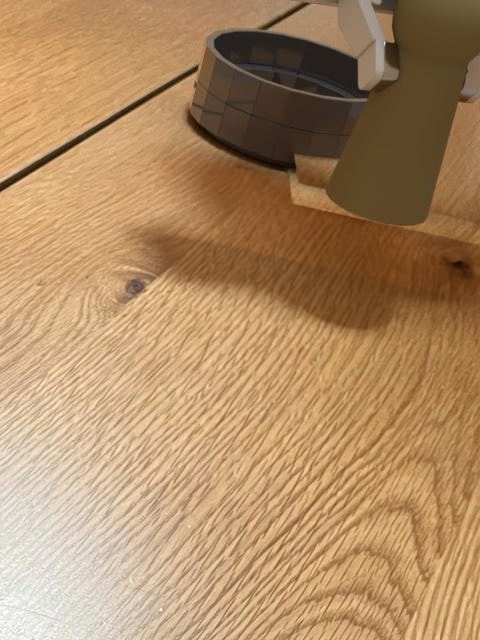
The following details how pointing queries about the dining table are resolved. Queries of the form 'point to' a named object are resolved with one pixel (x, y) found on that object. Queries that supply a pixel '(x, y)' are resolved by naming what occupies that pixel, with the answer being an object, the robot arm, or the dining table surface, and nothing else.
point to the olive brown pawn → (409, 115)
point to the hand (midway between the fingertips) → (424, 92)
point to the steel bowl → (276, 94)
